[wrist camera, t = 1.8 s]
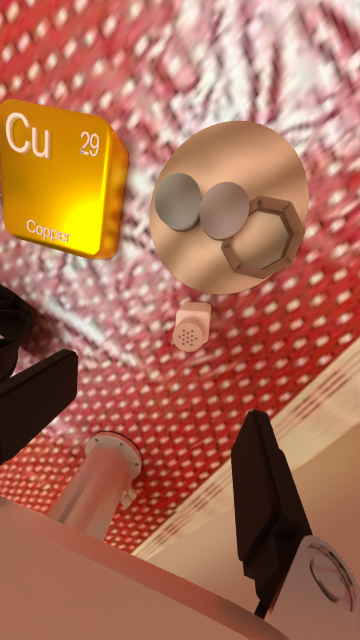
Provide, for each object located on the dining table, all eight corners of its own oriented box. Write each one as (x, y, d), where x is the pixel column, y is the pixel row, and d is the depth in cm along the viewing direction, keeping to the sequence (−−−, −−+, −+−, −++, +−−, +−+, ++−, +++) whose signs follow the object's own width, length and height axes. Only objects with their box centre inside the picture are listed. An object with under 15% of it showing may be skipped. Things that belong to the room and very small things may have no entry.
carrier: (326, 243, 22) (356, 237, 17) (197, 314, 27) (193, 324, 23) (257, 91, 19) (270, 34, 15) (130, 202, 25) (109, 187, 20)
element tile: (31, 238, 30) (-2, 233, 25) (31, 122, 25) (-11, 90, 20) (116, 263, 28) (96, 262, 23) (132, 143, 23) (112, 113, 19)
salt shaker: (211, 302, 26) (209, 320, 17) (209, 328, 28) (206, 358, 19) (184, 300, 27) (168, 316, 18) (183, 326, 28) (168, 353, 19)
